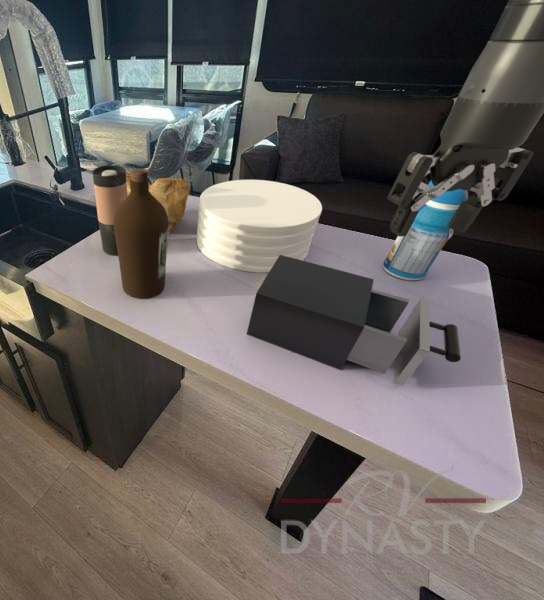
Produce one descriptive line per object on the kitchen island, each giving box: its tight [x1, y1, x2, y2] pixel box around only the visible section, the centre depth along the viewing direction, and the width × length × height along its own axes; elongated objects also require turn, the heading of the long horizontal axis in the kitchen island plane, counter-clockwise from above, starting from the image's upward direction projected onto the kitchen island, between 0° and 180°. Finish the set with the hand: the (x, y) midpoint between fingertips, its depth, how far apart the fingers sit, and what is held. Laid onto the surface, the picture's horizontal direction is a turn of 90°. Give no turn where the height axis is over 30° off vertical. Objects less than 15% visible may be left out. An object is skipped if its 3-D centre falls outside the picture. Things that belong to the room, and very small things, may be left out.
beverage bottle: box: [382, 180, 467, 281], centre depth 68 cm, size 8×8×20 cm
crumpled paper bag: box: [126, 171, 191, 234], centre depth 93 cm, size 23×17×15 cm
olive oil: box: [114, 168, 169, 300], centre depth 65 cm, size 11×11×25 cm
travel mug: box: [92, 164, 128, 256], centre depth 79 cm, size 8×8×20 cm
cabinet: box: [246, 255, 375, 371], centre depth 58 cm, size 16×14×10 cm
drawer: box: [346, 289, 461, 387], centre depth 53 cm, size 19×13×8 cm, turn 57°
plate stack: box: [196, 179, 323, 274], centre depth 82 cm, size 28×28×12 cm
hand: (426, 231), depth 45 cm, fingers open, 8 cm apart
